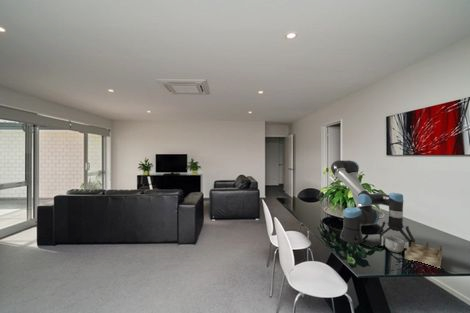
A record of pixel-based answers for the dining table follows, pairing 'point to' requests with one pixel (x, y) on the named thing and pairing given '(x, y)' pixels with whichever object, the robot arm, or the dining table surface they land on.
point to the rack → (424, 254)
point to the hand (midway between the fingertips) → (394, 248)
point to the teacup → (394, 244)
